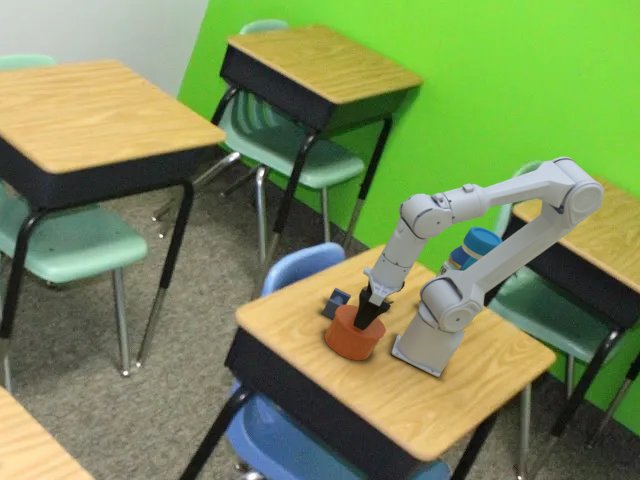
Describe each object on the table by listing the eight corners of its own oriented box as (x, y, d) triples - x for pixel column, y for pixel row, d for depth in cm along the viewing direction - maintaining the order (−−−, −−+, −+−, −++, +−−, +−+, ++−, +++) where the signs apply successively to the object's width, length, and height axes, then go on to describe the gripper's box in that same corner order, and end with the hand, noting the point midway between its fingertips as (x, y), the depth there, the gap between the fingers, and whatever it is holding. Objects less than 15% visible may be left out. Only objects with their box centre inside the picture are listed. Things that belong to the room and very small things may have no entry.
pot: (372, 345, 178) (386, 323, 175) (364, 367, 171) (378, 344, 168) (330, 323, 180) (342, 302, 177) (320, 344, 173) (332, 322, 170)
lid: (387, 325, 175) (398, 307, 173) (378, 349, 168) (390, 330, 165) (339, 302, 177) (350, 283, 175) (328, 324, 170) (339, 305, 167)
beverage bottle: (444, 331, 189) (497, 251, 177) (409, 308, 193) (459, 228, 181) (462, 321, 194) (514, 242, 183) (427, 298, 199) (477, 220, 187)
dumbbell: (327, 300, 187) (335, 287, 185) (343, 308, 186) (351, 295, 184) (321, 313, 182) (328, 300, 180) (337, 321, 181) (345, 308, 179)
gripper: (383, 233, 170) (349, 292, 178) (369, 264, 159) (334, 325, 167) (419, 250, 169) (384, 308, 176) (408, 282, 157) (371, 343, 165)
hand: (362, 318), depth 172 cm, fingers open, 7 cm apart
